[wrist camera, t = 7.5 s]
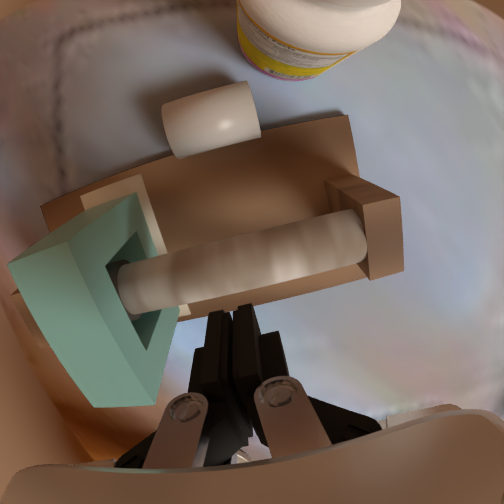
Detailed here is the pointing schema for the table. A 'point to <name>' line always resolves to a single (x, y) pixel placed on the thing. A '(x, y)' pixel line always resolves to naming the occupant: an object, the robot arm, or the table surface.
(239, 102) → the sleeve
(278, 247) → the pipe rig
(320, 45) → the supplement bottle
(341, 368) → the table surface
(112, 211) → the collar
